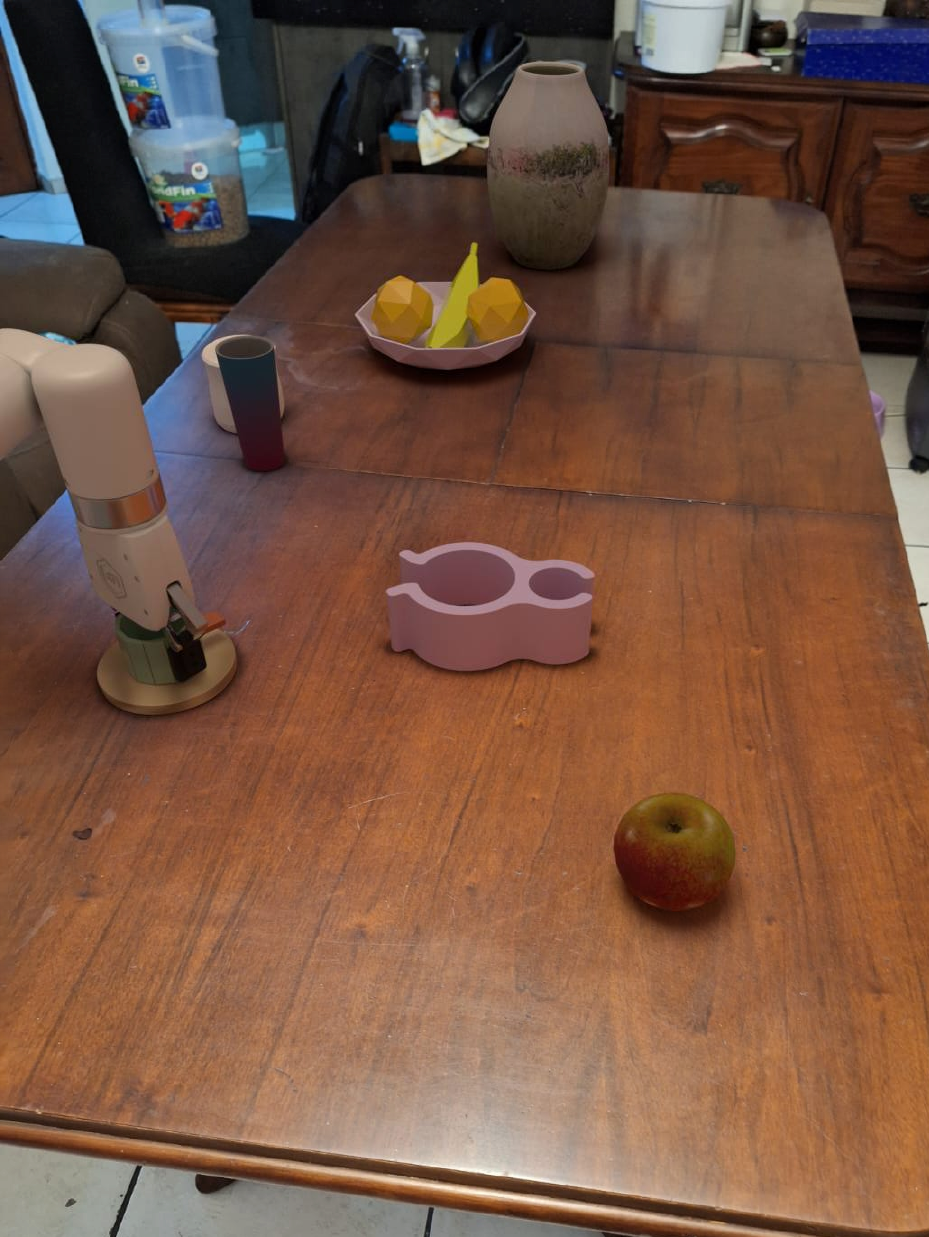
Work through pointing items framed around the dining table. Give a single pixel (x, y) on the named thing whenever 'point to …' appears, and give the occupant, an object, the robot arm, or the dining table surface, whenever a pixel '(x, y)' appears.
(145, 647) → the green mug
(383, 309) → the fruit bowl
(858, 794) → the dining table surface
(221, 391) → the cup
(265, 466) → the cup
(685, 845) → the fruit
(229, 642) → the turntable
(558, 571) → the clip
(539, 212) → the vase
